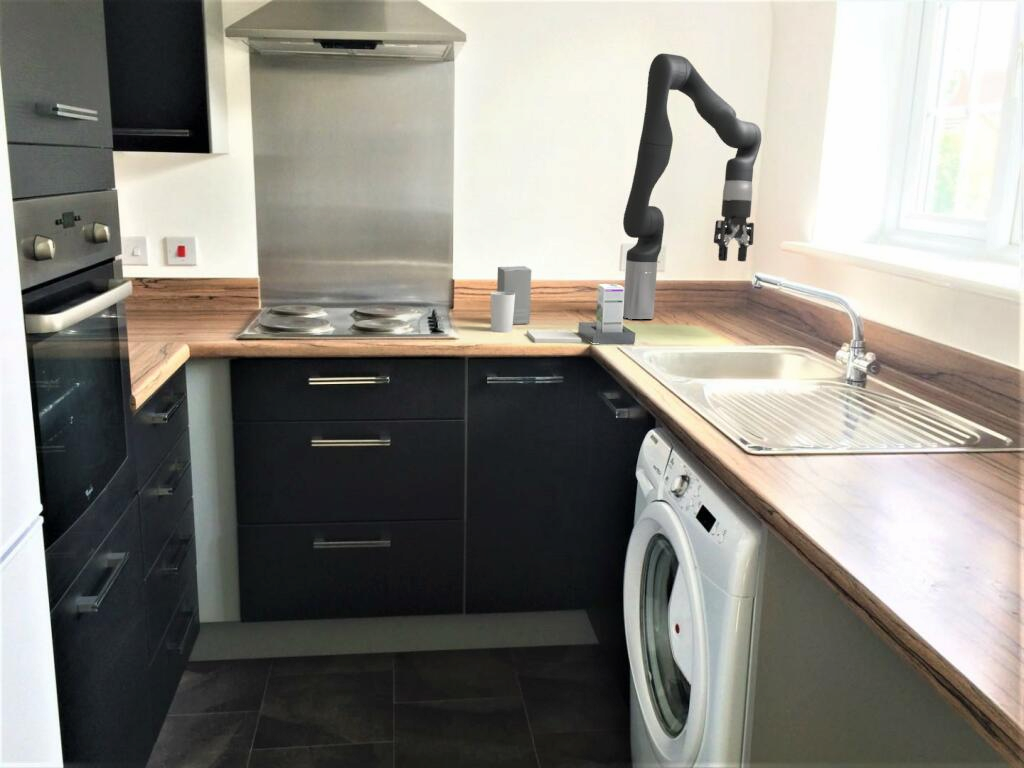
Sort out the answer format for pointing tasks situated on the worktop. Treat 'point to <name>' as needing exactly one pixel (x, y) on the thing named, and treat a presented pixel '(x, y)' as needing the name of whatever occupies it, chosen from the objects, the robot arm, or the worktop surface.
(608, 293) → the syrup box
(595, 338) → the dark grey tray
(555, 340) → the off-white mat
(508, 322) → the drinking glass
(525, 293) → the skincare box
